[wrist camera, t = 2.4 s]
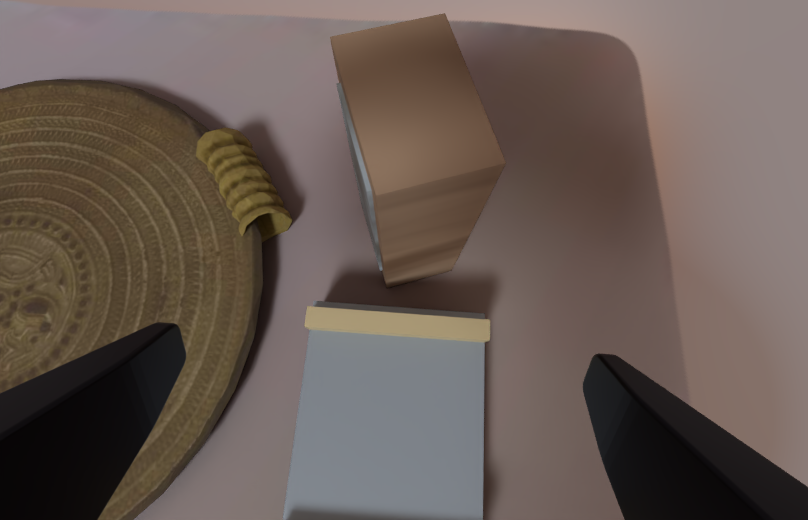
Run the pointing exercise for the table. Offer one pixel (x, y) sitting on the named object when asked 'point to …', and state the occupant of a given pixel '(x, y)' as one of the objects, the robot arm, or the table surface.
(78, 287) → the decorative disc
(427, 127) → the wooden box
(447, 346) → the rail board
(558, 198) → the table surface
